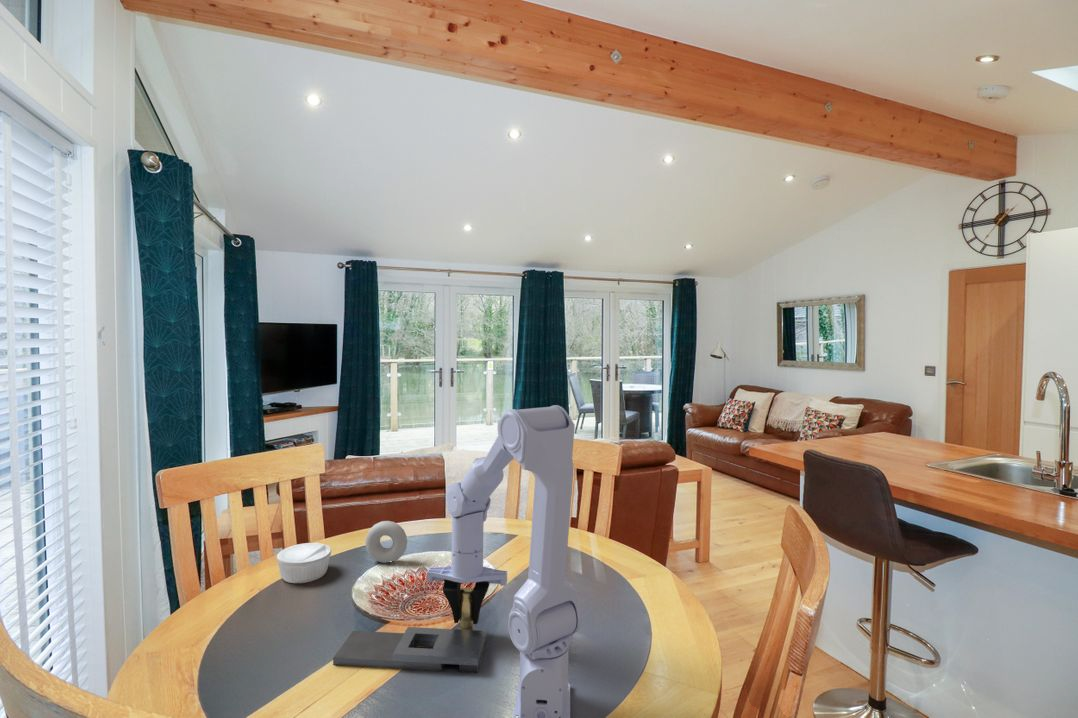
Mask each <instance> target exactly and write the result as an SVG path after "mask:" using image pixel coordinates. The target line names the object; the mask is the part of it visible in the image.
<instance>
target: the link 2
mask: <svg viewBox="0 0 1078 718" xmlns="http://www.w3.org/2000/svg"><path fill="white" fill-rule="evenodd" d="M486 632H487V631H486V630H477V629H476V630H475V629H474V630H459V629H455V628H438V627H437V628H436V627H435V628H434V627H420V626H419V627H418V626H417V627H416V626H415V627H414V626H408V627H407V628H406V630H405V631H404V632H403V633H404V635H403V637H402V638H401V640H400V642H399V644H398V645H397V647H396V649H395V651H394V652H393V661H403V662H421V663H439V664H443V665H459V666H458V668H459V669H458V672H459V673H470V674H471V673H474V674H475V673H476V674H478V672H479V669H480V664H481V661H482V659H483V654H484V650H485V648H486V635H487V634H486ZM415 640H422V641H436V642H435V645H434V647H433V648H426V647H415V648H411V647H412V645H413V643H414V641H415Z"/></svg>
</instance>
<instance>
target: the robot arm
mask: <svg viewBox="0 0 1078 718" xmlns="http://www.w3.org/2000/svg"><path fill="white" fill-rule="evenodd" d="M574 437H575V423H574V421H573V420H572V418H571V416H570V415H569V413H568V412H567V410H566V409H565V408H564V407H563V406H560V405H559V404H556V405H555V404H554V405H551V406H545V407H544V406H543V407H533V408H532V407H531V408H522V409H514V408H511V409H507V410H506V411H505V412H504V413H503V414H502V415H501V417H500V419H499V420H498V422H497V437H496V439H495V440H494V442H493V444H492V446H491V448H490V449H489V451H488V452H487V454H486V456H482V457H478V458H474V459H473V461H472V465H470V466H471V467H470V468H469V469H468V471H467V472H466V474H465V475H464V476H463V478H462V479H461V480H460V482H454V483H450V484H448V487H447V489H446V492H445V503H446V508H447V511H448V512H449V514H450V515H451V565H449V566H438V567H435V566H433V567H428V569H427V571H426V583H433V582H443V586H442V593H443V594H444V596H445V598H446V600H447V601H448V604H449V606H450V609H451V612H452V616H453V617H452V618H453V623H454V624H459V622H460V590H461V589H462V588H461V587H462V584H473V583H474V584H475V585H474V587H473V598H474V614H473V624H474V625H477V624H478V622H479V619H480V612H481V608H482V604H483V601H484V599H485V598H486V597H485V596H486V594H487V593H488V590H489V587H490V584H497V585H500V586H504V587H506V586H507V584H508V570H502V569H496V568H492V567H487V566H484V524H485V522H486V521H487V518H488V516H487V514H488V510H489V508H490V506H491V502H492V499H491V496H492V494H493V493H494V492H495V491H496V489H497V488H498V487H499V485H500V484H501V483H502V482H503V479H504V474H505V473H504V469H505V468H506V467H507V466H509V464H510V463H511V462H512V461H513V459H515V461H516V462H517V463H518V464H519V466H521V468H522V469H523V470H525V471H528V472H531V473H532V475H533V476H534V488H533V489H534V490H533V491H534V492H533V505H532V519H531V520H532V521H531V532H530V547H529V548H530V550H529V562H528V563H529V564H528V575H527V576H528V577H527V579H526V581H525V582H524V584H522V586H521V587H520V588H519V590H518V591H517V592H516V593H515V594H514V596H513V605H512V607H511V609H510V612H509V614H508V622H507V628H508V633H509V637H510V640H511V641H512V644H513V645H514V647H515V648H516V649H517V650H518V651H519V681H518V684H517V685H518V686H517V693H516V698H515V699H516V700H515V705H514V706H515V707H514V712H513V718H516V716H519V717H518V718H571V683H569V646H570V644H572V643H573V637H574V636H573V635H574V634H576V633H577V632H578V631H579V629H580V627H581V621H582V620H581V609H580V607H579V592H578V590H577V589H576V587H574V585H573V584H572V583H570V581H567V580H566V572H567V570H566V569H567V559H568V557H567V556H568V544H569V531H570V521H571V506H572V493H573V479H574V462H573V452H574V440H575V439H574Z"/></svg>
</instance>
